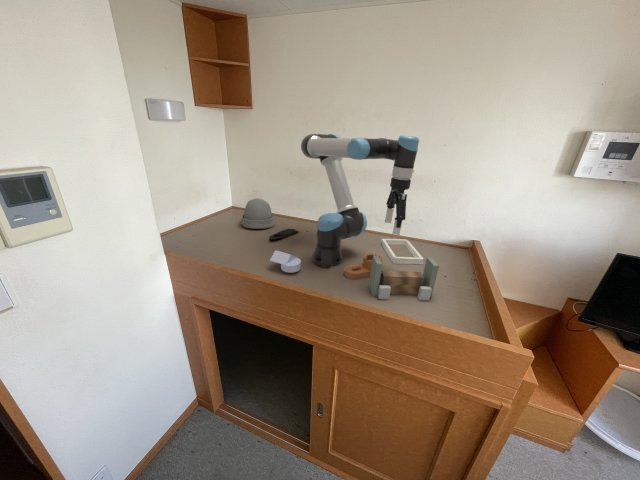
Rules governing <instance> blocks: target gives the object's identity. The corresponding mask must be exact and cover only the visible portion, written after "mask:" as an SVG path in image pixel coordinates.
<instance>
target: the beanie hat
mask: <svg viewBox="0 0 640 480" xmlns="http://www.w3.org/2000/svg"><path fill="white" fill-rule="evenodd" d="M275 225H276V222H275V218H274V214H273V213H272V208H271V206H270V204H269V203H268V201H266V200H264V199H262V198H260V197H259V198H257V197H256V198H253V199H250V200H248V201H247V203H246V204H245V207H244V211H243V214H242V215H241V226H243V228H247V229H252V230H253V229H259V230H260V229H261V230H262V229H269V228H272V227H274V226H275Z"/></svg>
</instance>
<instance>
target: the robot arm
mask: <svg viewBox="0 0 640 480" xmlns="http://www.w3.org/2000/svg"><path fill="white" fill-rule="evenodd" d="M419 144H420V138H419V137H417V136H411V135H400V136H399V137H398V139H397V140H395V139H390V138H384V137H383V138H382V137H380V138H379V137H377V138H368V137H367V138H365V137H356V138H355V137H353V138H352V137H351V138H350V137H349V138H347V137H340V135H336V134H329V133H328V134H326V133H325V134H320V133H311V134H308V135H306V136H305V137H303V139H302V140H301V144H300V148H301V152H302V154H303V155H304V156H305V157H307V158H309V159H313V160H314V159H315V160H316V159H319V162H320V164H321V165H322V166H324V168H325V171H326V174H327V178H328V180H329V185H330V188H331V191H332V195H333V198H334V202H335V205H336V208H337V211H336V212H328V213H327V212H326V213H324V214H322V215H320V216H319V217H318V220H317V224H316V228H317V230H316V231H317V233H316V246H315V248H314V251H313V253H312V259H311V260H312V263H313V264H314V265H316V266H319V267H322V268H333V267H336V266H340V265H341V264H342V263H343V261H344V256H343V253H342V248H341V245H342V240H346V239H350V238H353V237H358V236H360V235H363V234H364V232H365V231H366V229H367V226H368V219H367V217H366V215H365V214H364V213H363V212H362V211H361V212H360V210H359V207H358V206H357V205H355V204H354V201H353V197H352V193H351V191H350V187H349V183H348V180H347V177H346V174H345V170H344V167H343V163H342V161H343V158H346V159H351V160H355V161H356V160H359V161H361V160H380V159H381V160H382V159H383V160H390V161H391V160H392V161H394V162H393V166H392V173H391V176H392V177H391V179H390V183H389V185H390V186H389V187H390V192H389V195H388V198H387V201H386V207H387V208H386V214H385V217H384V218H385V219H384V223H386V224H387V223H388V224H392V220H393V216H394V209H395V212H396V213H395V214H396V216H395V217H394V224H393V229H392V235H394V236H399V235H401V234H400V233H401V229H402V226H403V221H406V214H407V212H406V210H407V198H408V193H407V194H405V191H406V190H410V188H411V181H412V178H413V174H414V173H415V170H414V168H415V162H416V158H417V154H418V150H419Z"/></svg>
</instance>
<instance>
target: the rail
mask: <svg viewBox="0 0 640 480" xmlns="http://www.w3.org/2000/svg"><path fill="white" fill-rule="evenodd" d="M423 281H424V276H423V273H422V272H421V271H405V270H400V271H399V270H381V277H380V283H379V285H387V286H390V288H391V291H390V295H417V296H418V292H419V288H420V286H423Z"/></svg>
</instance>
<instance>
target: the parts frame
mask: <svg viewBox="0 0 640 480" xmlns="http://www.w3.org/2000/svg"><path fill="white" fill-rule="evenodd" d="M380 244H381V246H382V247H383V249H384V250H385V252H386V254H387V256H388V258H389V259H390V260H391V263H392V264H396V265H397V264H399V265H400V264H401V265H423V264H424V262H425V260H424V259H425V257H423V256H422V255H421V254H420V253H419V251H418V250H417V249H416V248H415V247H414V245H413V244H412V243H411V242H410V241H409V240H408V239H403V238H402V239H399V238H381V242H380ZM389 245H393V246H395V245H396V246H397V245H398V246H405V247H406V249H407V250H408V252H409V253H410V254H411V255H412V256H413V257H411V256H409V257H408V256H396V254H395V252H394V251H393V250H392V248H391V247H390V246H389Z"/></svg>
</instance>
